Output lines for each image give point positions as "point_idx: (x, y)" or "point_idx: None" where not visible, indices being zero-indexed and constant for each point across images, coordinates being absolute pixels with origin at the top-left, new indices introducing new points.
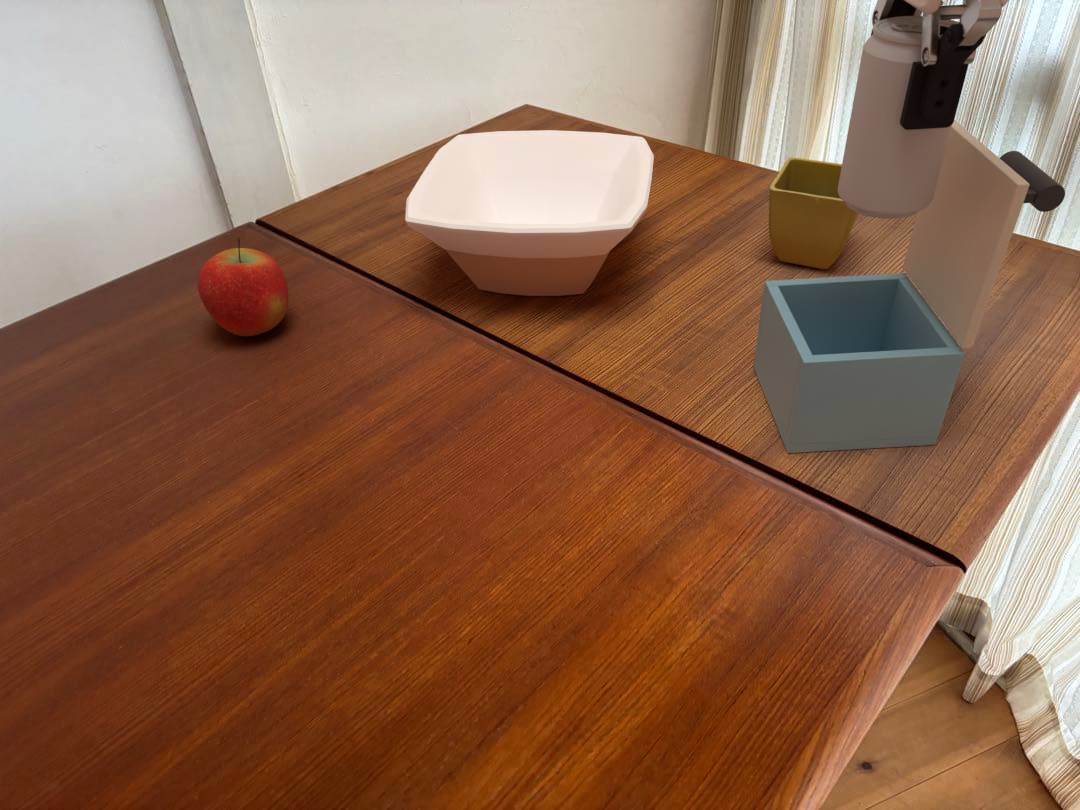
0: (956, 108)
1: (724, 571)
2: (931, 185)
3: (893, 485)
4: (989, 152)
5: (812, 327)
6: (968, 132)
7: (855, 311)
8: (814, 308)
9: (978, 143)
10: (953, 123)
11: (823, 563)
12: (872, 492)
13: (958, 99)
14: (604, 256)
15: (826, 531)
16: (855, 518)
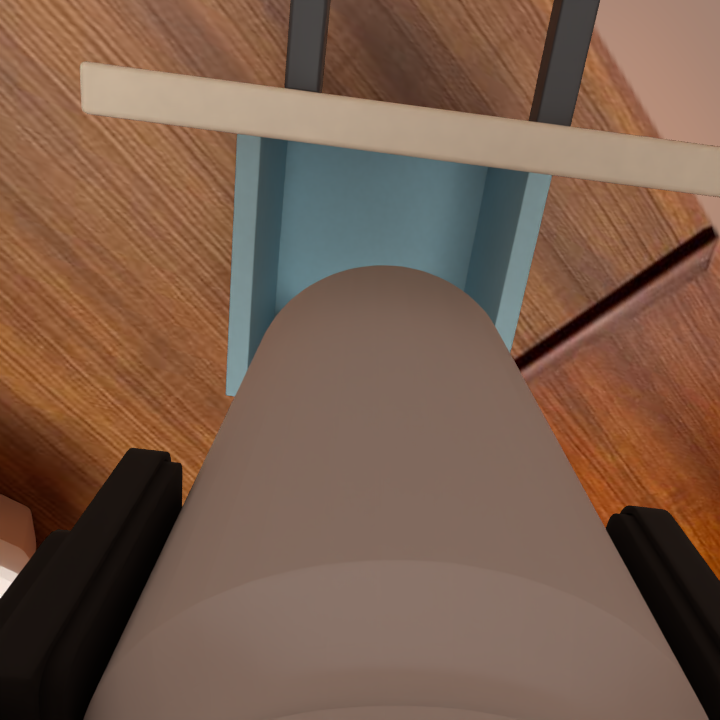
0: (696, 554)
1: (623, 482)
2: (510, 354)
3: (565, 241)
4: (481, 133)
5: (268, 273)
6: (260, 92)
7: (268, 204)
8: (261, 287)
9: (382, 121)
10: (149, 99)
11: (653, 382)
12: (568, 275)
13: (714, 583)
14: (17, 542)
15: (610, 359)
16: (603, 317)
